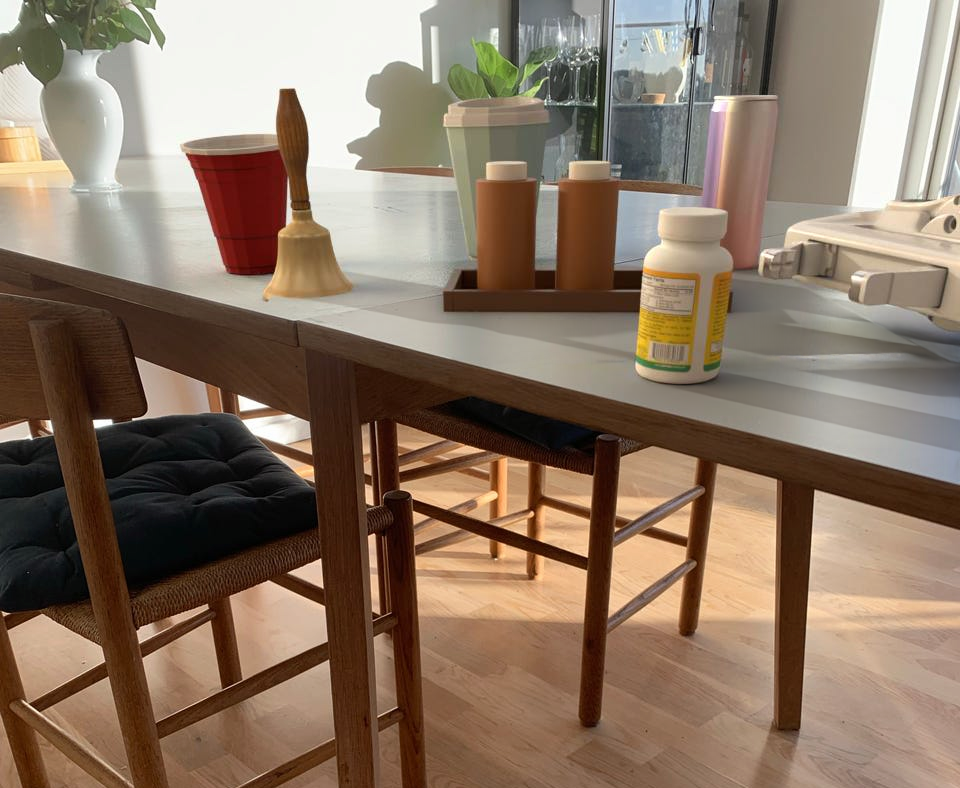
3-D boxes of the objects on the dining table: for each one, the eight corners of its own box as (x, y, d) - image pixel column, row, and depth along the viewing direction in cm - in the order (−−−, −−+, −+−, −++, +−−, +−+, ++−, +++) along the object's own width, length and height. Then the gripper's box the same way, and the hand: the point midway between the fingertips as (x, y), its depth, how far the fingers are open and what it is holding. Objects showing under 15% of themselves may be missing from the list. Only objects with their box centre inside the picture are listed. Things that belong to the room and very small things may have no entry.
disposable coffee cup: (541, 270, 94) (545, 97, 87) (436, 268, 96) (431, 98, 88) (551, 253, 103) (555, 96, 96) (455, 252, 105) (451, 97, 97)
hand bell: (308, 308, 79) (287, 88, 71) (243, 297, 84) (216, 89, 75) (376, 293, 85) (363, 87, 77) (311, 283, 89) (293, 88, 81)
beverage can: (682, 271, 93) (699, 96, 86) (716, 264, 97) (735, 95, 89) (735, 278, 89) (757, 96, 82) (768, 270, 93) (792, 95, 85)
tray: (709, 294, 83) (712, 268, 82) (730, 320, 74) (733, 292, 73) (454, 293, 84) (453, 268, 83) (443, 318, 75) (442, 291, 74)
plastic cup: (176, 276, 93) (154, 139, 87) (235, 259, 102) (218, 133, 96) (273, 282, 90) (257, 140, 84) (325, 264, 99) (314, 134, 93)
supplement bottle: (654, 388, 58) (669, 217, 53) (622, 366, 62) (632, 207, 57) (734, 381, 59) (756, 214, 54) (697, 360, 63) (714, 204, 58)
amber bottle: (606, 292, 81) (614, 159, 76) (617, 303, 77) (626, 164, 72) (551, 293, 81) (555, 160, 76) (559, 304, 77) (563, 164, 72)
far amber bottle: (531, 292, 82) (533, 160, 76) (537, 303, 77) (540, 164, 72) (475, 293, 81) (474, 160, 76) (479, 304, 77) (478, 165, 72)
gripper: (1099, 342, 57) (913, 364, 53) (871, 286, 74) (717, 299, 70) (1134, 229, 54) (939, 244, 50) (888, 197, 70) (727, 205, 67)
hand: (808, 276), depth 60 cm, fingers open, 8 cm apart
